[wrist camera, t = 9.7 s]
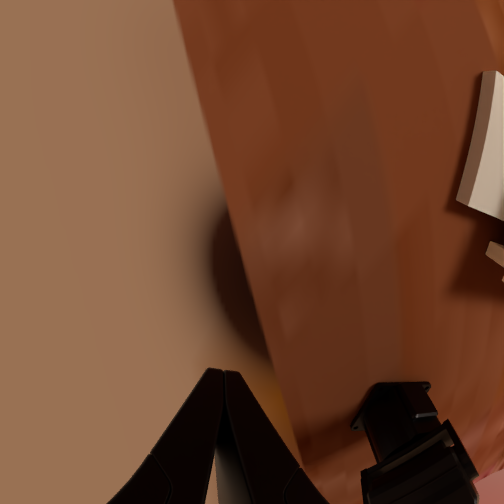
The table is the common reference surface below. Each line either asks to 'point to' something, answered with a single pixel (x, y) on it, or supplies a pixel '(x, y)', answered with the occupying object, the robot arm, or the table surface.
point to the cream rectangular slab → (496, 253)
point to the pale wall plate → (486, 151)
